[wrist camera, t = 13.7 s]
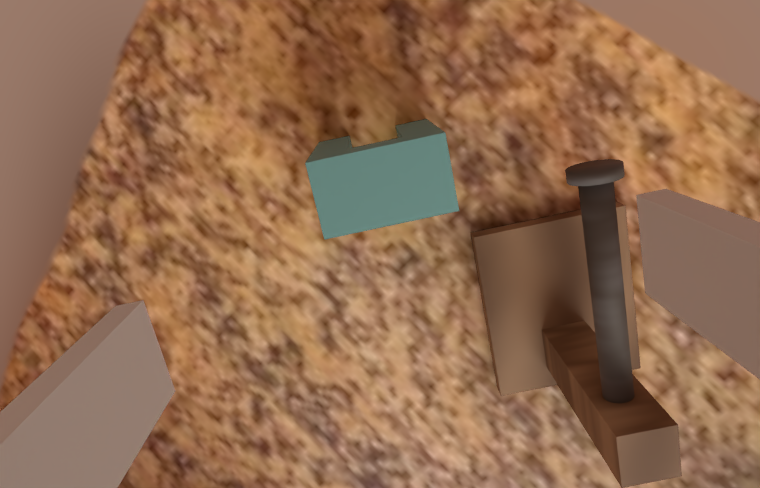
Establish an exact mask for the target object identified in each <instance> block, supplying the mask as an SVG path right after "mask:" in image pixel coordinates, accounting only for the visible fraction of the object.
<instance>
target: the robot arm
mask: <svg viewBox="0 0 760 488" xmlns="http://www.w3.org/2000/svg"><path fill="white" fill-rule="evenodd" d="M636 196H637V207H638V218H639V230H640V241H641V252H642V263H643V274H644V285H645V293H646V294H647V295H648V296H650V297H651V298H652V299H654V300H655V301H656V302H658V303H659V304H660V305H662V306H663V307H664V308H666V309H667V310H668V311H669V312H671V313H672V314H673V315H675V316H676V317H677V318H679V319H680V320H681V321H683V322H684V323H685V324H687V325H688V326H689V327H691V328H692V329H693V330H695V331H696V332H697V333H699V334H700V335H701V336H703V337H704V338H705V339H707V340H708V341H709V342H711V343H712V344H713V345H715V346H716V347H717V348H719V349H720V350H721V351H723V352H724V353H725V354H727V355H728V356H729V357H731V358H732V359H733V360H735V361H736V362H737V363H739V364H740V365H741V366H743V367H744V368H745V369H747V370H748V371H749V372H751V373H752V374H753V375H755V376H756V377H757V378H759V379H760V222H757V221H754V220H752V219H749V218H746V217H743V216H740V215H738V214H735V213H732V212H729V211H726V210H724V209H721V208H718V207H715V206H713V205H710V204H707V203H704V202H701V201H699V200H696V199H693V198H690V197H687V196H685V195H682V194H679V193H676V192H673V191H671V190H668V189H663V190H658V191H653V192H649V193H644V194H639V195H636ZM174 392H175V389H174V386H173V383H172V380H171V377H170V375H169V372H168V369H167V366H166V363H165V360H164V358H163V355H162V352H161V349H160V346H159V343H158V340H157V338H156V335H155V332H154V329H153V326H152V323H151V321H150V318H149V315H148V312H147V309H146V306H145V303H144V301H143V300H142V301H137V302H133V303H128V304H123V305H118V306H115V307H114V308H113V309H112V310H111V311H110V312H108V313H107V314H106V315H105V316H104V317H103V318H102V319H101V320H100V321H99V322H98V323H96V324H95V325H94V326H93V327H92V328H91V329H90V330H89V331H88V332H87V333H86V334H85V335H83V336H82V337H81V338H80V339H79V340H78V341H77V342H76V343H75V344H74V345H73V346H71V347H70V348H69V349H68V350H67V351H66V352H65V353H64V354H63V355H62V356H61V357H60V358H58V359H57V360H56V361H55V362H54V363H53V364H52V365H51V366H50V367H49V368H48V369H46V370H45V371H44V372H43V373H42V374H41V375H40V376H39V377H38V378H37V379H36V380H35V381H33V382H32V383H31V384H30V385H29V386H28V387H27V388H26V389H25V390H24V391H23V392H21V393H20V394H19V395H18V396H17V397H16V398H15V399H14V400H13V401H12V402H11V403H10V404H8V405H7V406H6V407H5V408H4V409H3V410H2V411H1V412H0V488H118V486H119V484H120V483H121V481H122V479H123V478H124V476H125V474H126V473H127V471H128V469H129V468H130V466H131V464H132V463H133V461H134V459H135V458H136V456H137V454H138V453H139V451H140V449H141V448H142V446H143V444H144V443H145V441H146V439H147V438H148V436H149V434H150V433H151V431H152V429H153V428H154V426H155V424H156V423H157V421H158V419H159V418H160V416H161V414H162V413H163V411H164V409H165V408H166V406H167V404H168V402H169V401H170V399H171V397H172V396H173V394H174Z"/></svg>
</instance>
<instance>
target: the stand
mask: <svg viewBox="0 0 760 488" xmlns="http://www.w3.org/2000/svg"><path fill="white" fill-rule="evenodd" d="M565 172H566V180H567V184H569V185H572V186H578V189H579V197H580V206H581V210H576V211H572V212H567V213H562V214H557V215H553V216H548V217H543V218H538V219H534V220H529V221H524V222H520V223H515V224H510V225H505V226H501V227H496V228H491V229H486V230H482V231H477V232H472V233H471V239H472V244H473V250H474V256H475V262H476V267H477V273H478V279H479V285H480V290H481V296H482V302H483V308H484V313H485V319H486V325H487V330H488V336H489V342H490V348H491V353H492V359H493V365H494V371H495V376H496V382H497V388H498V390H499V392H500V395H501V396H504V395H509V394H514V393H519V392H524V391H529V390H534V389H539V388H544V387H549V386H554V385H558V386H559V388H560V389H561V391H562V393H563V394H564V396H565V397H566V399H567V401H568V402H569V404H570V406H571V407H572V409H573V410H574V412H575V414H576V415H577V417H578V418H579V420H580V422H581V423H582V425H583V426H584V428H585V430H586V431H587V433H588V434H589V436H590V438H591V439H592V441H593V442H594V444H595V446H596V447H597V449H598V450H599V452H600V454H601V455H602V457H603V458H604V460H605V462H606V463H607V465H608V466H609V468H610V470H611V471H612V473H613V474H614V476H615V478H616V479H617V481H618V482H619V484H620V486H621V487H622V488H624V487H629V486H634V485H639V484H644V483H649V482H655V481H660V480H665V479H670V478H675V477H680V476H682V473H681V459H680V446H679V433H678V424H677V423H676V422H675V421H674V420H673V419H672V418H671V417H670V416H669V414H668V413H667V412H666V411H665V410H664V409H663V408H662V407H661V405H660V404H659V403H658V402H657V401H656V400H655V399H654V398H653V397H652V395H651V394H650V393H649V392H648V391H647V390H646V389H645V388H644V387H643V385H642V384H641V383H640V382H639V381H638V380H637V379H636V378H635V376H634V375H633V374H632V370H633V369H638V368H640V357H639V346H638V335H637V325H636V314H635V303H634V292H633V282H632V271H631V260H630V249H629V239H628V228H627V217H626V206H625V205H623V204H621V203H619V202H615V192H614V181H617V180H619V179H621V178H623V177H624V165H623V161H620V160H612V159H608V160H595V161H589V162H584V163H579V164H576V165H573V166H570V167H568V168H567V169H566V170H565Z"/></svg>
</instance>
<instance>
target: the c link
mask: <svg viewBox="0 0 760 488" xmlns="http://www.w3.org/2000/svg"><path fill="white" fill-rule="evenodd" d="M396 131H397V136H398V138H396V139H391V140H386V141H382V142H377V143H373V144H368V145H364V146H359V147H354V148H352V144H351V140H350V136H346V137H341V138H337V139H332V140H327V141H323V142H319V143H318V145H317V146H316V148H315V149H314V151H313V152H312V154H311V155H310V157H309V158H308V160H307V161H306V163H305V164H306V168H307V172H308V176H309V180H310V184H311V188H312V192H313V196H314V200H315V204H316V208H317V212H318V216H319V220H320V224H321V228H322V232H323V236H324V239H329V238H334V237H339V236H343V235H348V234H353V233H357V232H362V231H367V230H371V229H376V228H381V227H386V226H390V225H395V224H400V223H404V222H409V221H414V220H419V219H423V218H428V217H433V216H437V215H442V214H447V213H451V212H456V211H459V207H458V201H457V196H456V190H455V185H454V179H453V173H452V168H451V162H450V156H449V151H448V145H447V140H446V134H445V132H444V131H442V130H441V129H440V128H438V127H437V126H435V125H434V124H433V123H431V122H430V121H428V120H427V119H424V120H419V121H414V122H410V123H405V124H401V125H396Z"/></svg>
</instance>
